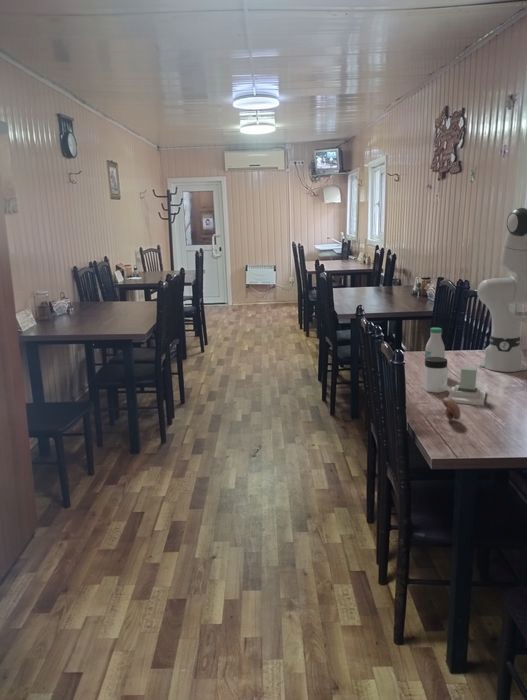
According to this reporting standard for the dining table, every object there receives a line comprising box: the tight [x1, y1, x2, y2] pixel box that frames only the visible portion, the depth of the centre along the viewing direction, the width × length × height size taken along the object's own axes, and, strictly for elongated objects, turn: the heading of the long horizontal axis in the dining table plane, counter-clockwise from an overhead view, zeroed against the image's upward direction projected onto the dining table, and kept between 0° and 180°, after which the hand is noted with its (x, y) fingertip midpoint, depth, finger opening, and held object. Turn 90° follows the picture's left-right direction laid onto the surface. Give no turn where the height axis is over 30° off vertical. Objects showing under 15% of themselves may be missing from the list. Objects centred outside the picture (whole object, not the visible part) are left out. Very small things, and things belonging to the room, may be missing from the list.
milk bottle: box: [424, 327, 446, 359], centre depth 232 cm, size 8×8×20 cm
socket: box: [447, 384, 487, 406], centre depth 205 cm, size 16×12×3 cm
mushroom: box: [441, 396, 461, 422], centre depth 181 cm, size 8×6×8 cm
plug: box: [459, 365, 478, 392], centre depth 204 cm, size 5×5×11 cm
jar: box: [422, 357, 449, 394], centre depth 214 cm, size 9×8×12 cm
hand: (516, 316), depth 197 cm, fingers open, 8 cm apart
